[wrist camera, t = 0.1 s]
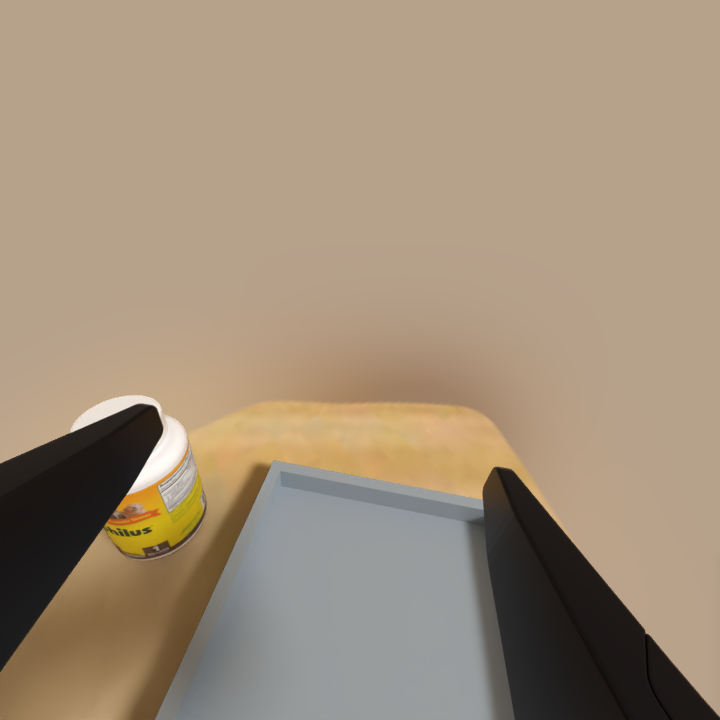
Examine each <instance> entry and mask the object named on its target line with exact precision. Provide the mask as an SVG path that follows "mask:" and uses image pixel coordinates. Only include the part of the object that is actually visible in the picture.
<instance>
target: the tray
mask: <svg viewBox="0 0 720 720" xmlns="http://www.w3.org/2000/svg"><path fill="white" fill-rule="evenodd" d="M155 720H515V719H514V713H513V707H512V701H511V695H510V690H509V684H508V678H507V672H506V666H505V661H504V655H503V649H502V643H501V637H500V632H499V626H498V620H497V614H496V608H495V603H494V597H493V591H492V585H491V579H490V574H489V568H488V561H487V553H486V540H485V524H484V509H483V500H480V499H475V498H470V497H465V496H459V495H454V494H449V493H443V492H438V491H433V490H428V489H422V488H417V487H412V486H407V485H401V484H396V483H391V482H385V481H380V480H375V479H370V478H364V477H359V476H354V475H349V474H343V473H338V472H333V471H327V470H322V469H317V468H312V467H306V466H301V465H296V464H291V463H285V462H280V461H275V460H274V461H273V463H272V466H271V468H270V470H269V472H268V474H267V476H266V479H265V481H264V483H263V485H262V487H261V489H260V492H259V494H258V496H257V498H256V500H255V503H254V505H253V507H252V509H251V511H250V513H249V516H248V518H247V520H246V522H245V524H244V527H243V529H242V531H241V533H240V535H239V537H238V540H237V542H236V544H235V546H234V548H233V550H232V553H231V555H230V557H229V559H228V561H227V564H226V566H225V568H224V570H223V572H222V574H221V577H220V579H219V581H218V583H217V585H216V588H215V590H214V592H213V594H212V596H211V598H210V601H209V603H208V605H207V607H206V609H205V611H204V614H203V616H202V618H201V620H200V622H199V625H198V627H197V629H196V631H195V633H194V635H193V638H192V640H191V642H190V644H189V646H188V649H187V651H186V653H185V655H184V657H183V659H182V662H181V664H180V666H179V668H178V670H177V672H176V675H175V677H174V679H173V681H172V683H171V686H170V688H169V690H168V692H167V694H166V696H165V699H164V701H163V703H162V705H161V707H160V710H159V712H158V714H157V716H156V718H155Z"/></svg>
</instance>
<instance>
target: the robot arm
mask: <svg viewBox="0 0 720 720" xmlns="http://www.w3.org/2000/svg"><path fill="white" fill-rule="evenodd" d="M163 430H164V429H163V424H162V421H161V418H160V415H159V412H158V409H157V408H156V407H155V406H154V405H149V404H143V403H139V404H136V405H133V406H131V407H129V408H126V409H124V410H122V411H119V412H117V413H115V414H113V415H110V416H108V417H106V418H103V419H101V420H99V421H97V422H94V423H92V424H90V425H87V426H85V427H83V428H81V429H78V430H76V431H74V432H71V433H69V434H67V435H65V436H62V437H60V438H58V439H55V440H53V441H51V442H49V443H47V444H44V445H42V446H40V447H37V448H35V449H33V450H30V451H28V452H26V453H24V454H21V455H19V456H17V457H14V458H12V459H10V460H7V461H5V462H3V463H1V464H0V672H1V670H2V669H3V667H4V666H5V665H6V663H7V662H8V660H9V659H10V658H11V656H12V655H13V653H14V652H15V651H16V649H17V648H18V646H19V645H20V644H21V642H22V641H23V639H24V638H25V637H26V635H27V634H28V632H29V631H30V630H31V628H32V627H33V625H34V624H35V622H36V621H37V620H38V618H39V617H40V615H41V614H42V613H43V611H44V610H45V608H46V607H47V606H48V604H49V603H50V601H51V600H52V599H53V597H54V596H55V594H56V593H57V592H58V590H59V589H60V587H61V586H62V585H63V583H64V582H65V580H66V579H67V578H68V576H69V575H70V573H71V572H72V571H73V569H74V568H75V566H76V565H77V564H78V562H79V561H80V559H81V558H82V557H83V555H84V554H85V552H86V551H87V550H88V548H89V547H90V545H91V544H92V543H93V541H94V540H95V538H96V537H97V536H98V534H99V533H100V531H101V530H102V528H103V527H104V526H105V524H106V523H107V521H108V520H109V519H110V517H111V516H112V514H113V513H114V512H115V510H116V509H117V507H118V506H119V505H120V503H121V502H122V500H123V499H124V498H125V496H126V495H127V493H128V492H129V490H130V489H131V487H132V486H133V484H134V483H135V481H136V479H137V478H138V476H139V474H140V473H141V471H142V469H143V467H144V466H145V464H146V462H147V460H148V459H149V457H150V455H151V454H152V452H153V450H154V448H155V447H156V445H157V443H158V441H159V440H160V438H161V436H162V434H163ZM483 509H484V524H485V540H486V553H487V561H488V568H489V574H490V579H491V585H492V591H493V597H494V603H495V608H496V614H497V620H498V626H499V632H500V637H501V643H502V649H503V655H504V661H505V666H506V672H507V678H508V684H509V690H510V695H511V701H512V707H513V713H514V719H515V720H720V717H719V716H718V715H717V714H716V712H715V711H714V710H713V709H712V708H711V707H710V706H709V705H708V704H707V702H706V701H705V700H704V699H703V698H702V697H701V696H700V694H699V693H698V692H697V691H696V690H695V689H694V687H693V686H692V685H691V684H690V683H689V682H688V680H687V679H686V678H685V677H684V676H683V674H682V673H681V672H680V671H679V670H678V668H677V667H676V666H675V665H674V664H673V663H672V662H671V661H670V659H669V658H668V657H667V656H666V654H665V653H664V652H663V651H662V650H661V649H660V647H659V646H658V645H657V644H656V642H655V641H654V640H653V639H652V637H651V636H650V635H648V634H645V629H644V628H643V627H642V626H641V624H640V623H639V622H638V621H637V619H636V618H635V617H634V616H633V615H632V613H631V612H630V611H629V610H628V609H627V607H626V606H625V605H624V604H623V603H622V601H621V600H620V599H619V598H618V597H617V595H616V594H615V593H614V592H613V591H612V589H611V588H610V587H609V586H608V584H607V583H606V582H605V581H604V580H603V578H602V577H601V576H600V575H599V574H598V572H596V570H595V569H594V568H593V566H592V565H591V564H590V563H589V562H588V560H587V559H586V558H585V557H584V556H583V554H582V553H581V552H580V551H579V549H578V548H577V547H576V546H575V545H574V543H573V542H572V541H571V540H570V539H569V537H568V536H567V535H566V534H565V533H564V531H563V530H562V529H561V528H560V527H559V525H558V524H557V523H556V522H555V521H554V519H553V518H552V517H551V516H550V514H549V513H548V512H547V511H546V510H545V508H544V507H543V506H542V505H541V504H540V502H539V501H538V500H537V499H536V498H535V496H534V495H533V494H532V493H531V492H530V490H529V489H528V488H527V487H526V486H525V484H524V483H523V482H522V481H521V479H520V478H519V477H518V476H517V475H516V473H515V472H514V471H512V470H511V469H508V468H502V467H494V468H493V469H492V471H491V473H490V475H489V477H488V479H487V480H486V482H485V484H484V487H483Z"/></svg>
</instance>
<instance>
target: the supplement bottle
mask: <svg viewBox="0 0 720 720" xmlns="http://www.w3.org/2000/svg"><path fill="white" fill-rule="evenodd" d="M139 403H143V404H149V405H154V406H155V407H156V408H157V409H158V412H159V415H160V418H161V421H162V424H163V429H164V430H163V434H162V436H161V438H160V440H159V441H158V443H157V445H156V447H155V448H154V450H153V452H152V454H151V455H150V457H149V459H148V460H147V462H146V464H145V466H144V467H143V469H142V471H141V473H140V474H139V476H138V478H137V479H136V481H135V483H134V484H133V486H132V487H131V489H130V490H129V492H128V493H127V495H126V496H125V498H124V499H123V500H122V502H121V503H120V505H119V506H118V507H117V509H116V510H115V512H114V513H113V514H112V516H111V517H110V519H109V520H108V521H107V523H106V524H105V526H104V527H103V528H104V529H105V531H106V532H107V534H108V535H109V537H110V538H111V540H112V541H113V543H114V544H115V545H116V547H117V548H118V549H119V551H120V552H121V553H122V554H124V555H125V556H127V557H128V558H131V559H134V560H141V561H148V560H155V559H159V558H162V557H165V556H167V555H170V554H172V553H174V552H175V551H177V550H178V549H180V548H181V547H183V546H184V545H185V544H186V543H188V542H189V541H190V540H191V539H192V538H193V536H194V535H195V534H196V533H197V531H198V530H199V529H200V527H201V525H202V523H203V521H204V518H205V515H206V510H207V502H206V497H205V494H204V490H203V487H202V483H201V480H200V476H199V473H198V469H197V466H196V463H195V460H194V456H193V453H192V450H191V447H190V443H189V440H188V437H187V434H186V431H185V429H184V427H183V426H182V424H181V423H180V422H178V421H177V420H176V419H174V418H172V417H170V416H167V415H164V414H163V412H162V409H161V406H160V405H159V403H158V402H157V401H155V400H154V399H152V398H149V397H146V396H141V395H129V396H122V397H117V398H113V399H110V400H107V401H104V402H102V403H99V404H97V405H96V406H94V407H92V408H90V409H89V410H87V411H86V412H84V413H83V414H82V415H81V416H80V417H79V418H78V419H77V420H76V421H75V422H74V424H73V426H72V428H71V431H70V433H71V432H74V431H76V430H78V429H81V428H83V427H85V426H87V425H90V424H92V423H94V422H97V421H99V420H101V419H103V418H106V417H108V416H110V415H113V414H115V413H117V412H119V411H122V410H124V409H126V408H129V407H131V406H133V405H136V404H139Z"/></svg>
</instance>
